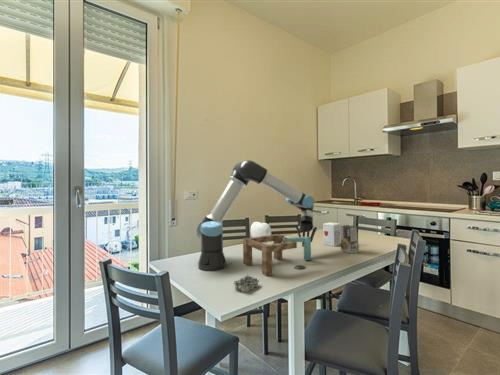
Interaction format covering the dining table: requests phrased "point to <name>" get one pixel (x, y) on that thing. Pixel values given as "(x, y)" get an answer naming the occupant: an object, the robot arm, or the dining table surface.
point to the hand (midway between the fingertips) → (305, 251)
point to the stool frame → (267, 251)
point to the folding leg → (306, 245)
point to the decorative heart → (259, 232)
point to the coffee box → (349, 239)
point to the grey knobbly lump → (246, 284)
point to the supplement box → (332, 234)
